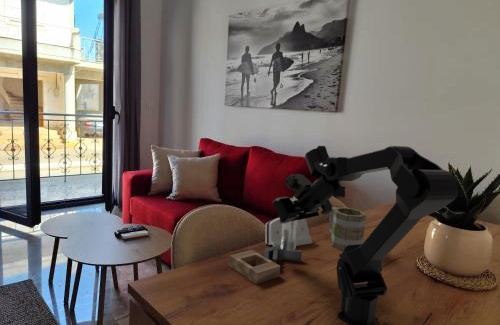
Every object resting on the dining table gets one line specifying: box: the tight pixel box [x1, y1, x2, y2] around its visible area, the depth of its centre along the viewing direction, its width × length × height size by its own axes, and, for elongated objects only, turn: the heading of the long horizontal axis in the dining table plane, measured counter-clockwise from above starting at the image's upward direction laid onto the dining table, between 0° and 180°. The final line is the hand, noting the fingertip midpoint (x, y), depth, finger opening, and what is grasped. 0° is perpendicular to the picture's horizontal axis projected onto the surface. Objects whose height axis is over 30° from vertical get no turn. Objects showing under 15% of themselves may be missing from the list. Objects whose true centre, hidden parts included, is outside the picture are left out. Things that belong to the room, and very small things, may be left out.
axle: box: [280, 197, 299, 251], centre depth 95 cm, size 4×4×14 cm
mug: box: [328, 206, 367, 252], centre depth 117 cm, size 16×11×12 cm
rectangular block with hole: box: [228, 249, 281, 285], centre depth 91 cm, size 12×8×3 cm, turn 38°
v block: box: [263, 245, 303, 264], centre depth 99 cm, size 7×12×3 cm, turn 128°
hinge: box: [264, 217, 313, 247], centre depth 114 cm, size 17×5×10 cm, turn 120°
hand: (286, 220), depth 96 cm, fingers closed on axle, 4 cm apart
